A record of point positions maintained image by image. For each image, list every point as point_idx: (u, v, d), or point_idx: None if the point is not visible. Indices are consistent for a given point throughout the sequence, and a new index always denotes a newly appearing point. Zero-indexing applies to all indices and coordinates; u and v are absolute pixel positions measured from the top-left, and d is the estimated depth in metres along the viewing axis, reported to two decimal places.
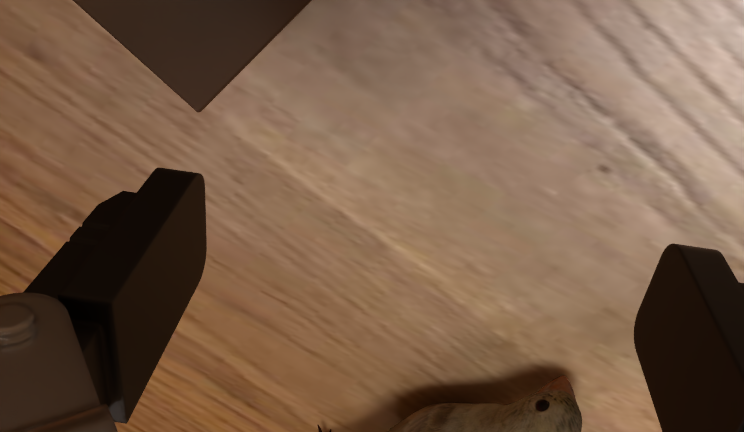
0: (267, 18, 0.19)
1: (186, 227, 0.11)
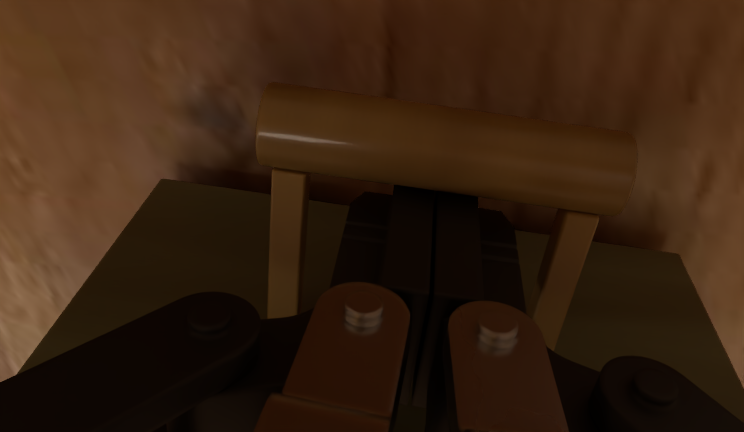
0: None
1: None
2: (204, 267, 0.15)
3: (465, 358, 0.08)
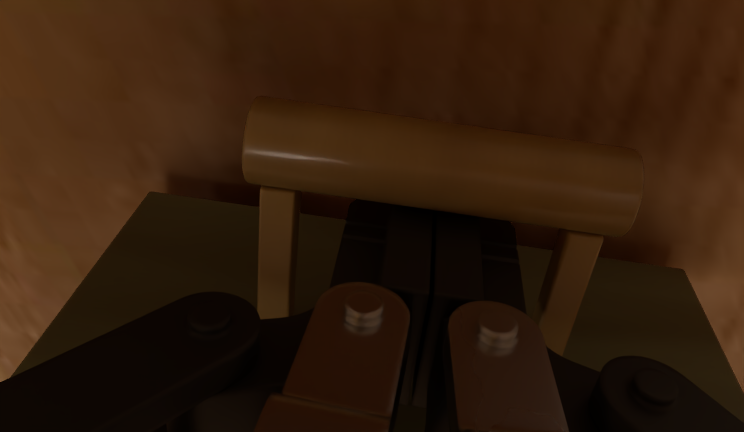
0: None
1: None
2: (192, 285, 0.14)
3: (465, 358, 0.08)
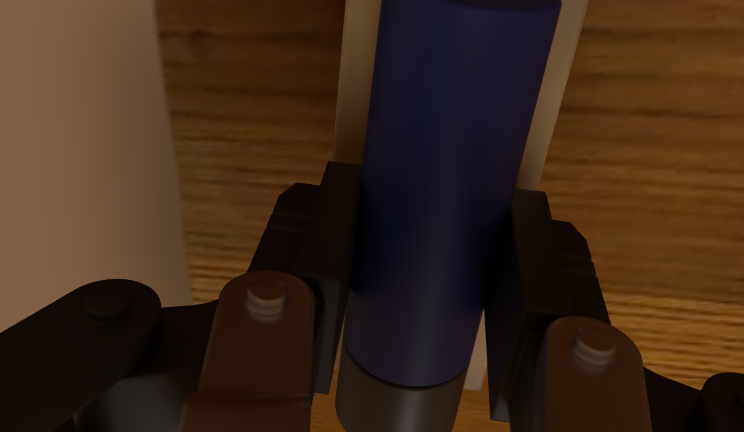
0: None
1: (358, 216, 0.12)
2: None
3: (557, 368, 0.08)
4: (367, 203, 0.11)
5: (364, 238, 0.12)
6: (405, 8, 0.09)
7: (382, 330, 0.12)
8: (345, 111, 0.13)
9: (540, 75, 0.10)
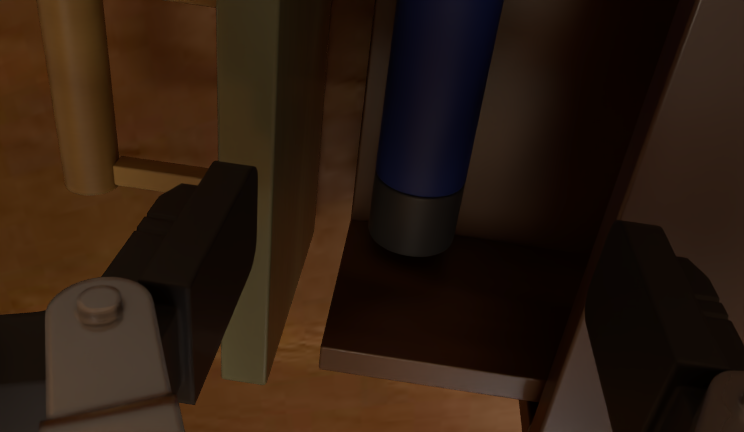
0: None
1: (243, 218, 0.11)
2: None
3: (716, 418, 0.08)
4: (395, 62, 0.17)
5: (393, 88, 0.17)
6: None
7: (404, 154, 0.18)
8: None
9: None
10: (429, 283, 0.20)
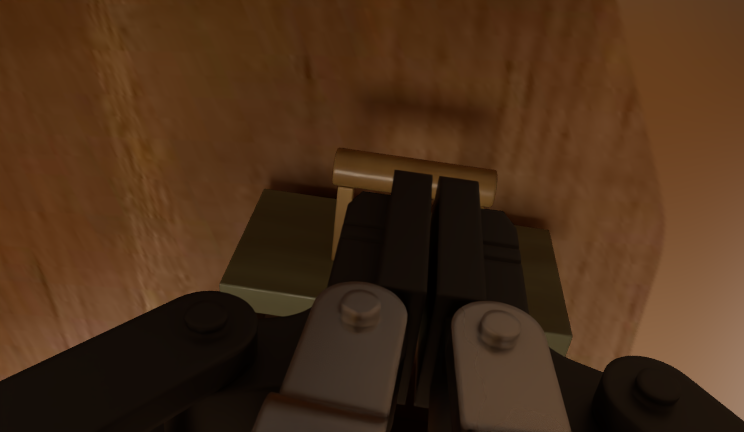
0: None
1: None
2: (296, 234, 0.29)
3: (468, 358, 0.08)
4: None
5: None
6: None
7: None
8: None
9: None
10: None
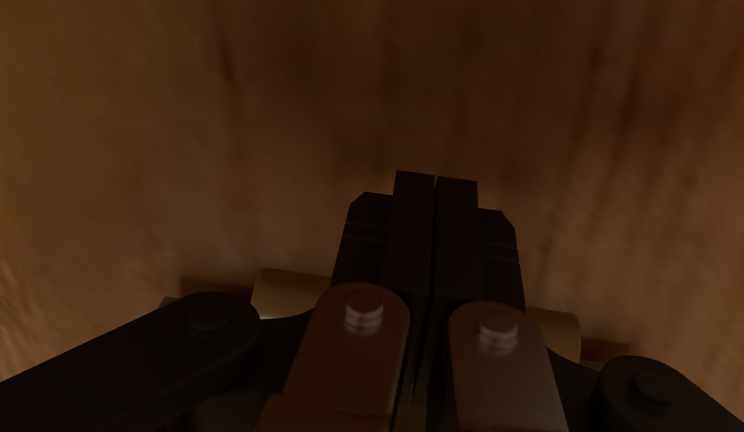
0: None
1: None
2: None
3: (465, 358, 0.08)
4: None
5: None
6: None
7: None
8: None
9: None
10: None
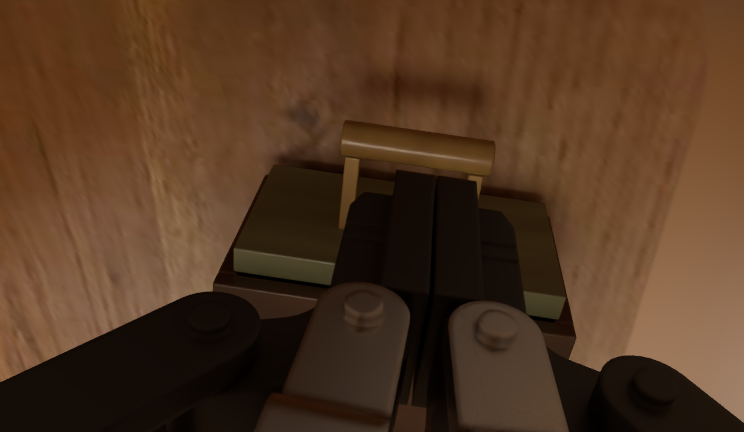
0: None
1: None
2: (305, 205, 0.30)
3: (465, 358, 0.08)
4: None
5: None
6: None
7: None
8: None
9: None
10: None
